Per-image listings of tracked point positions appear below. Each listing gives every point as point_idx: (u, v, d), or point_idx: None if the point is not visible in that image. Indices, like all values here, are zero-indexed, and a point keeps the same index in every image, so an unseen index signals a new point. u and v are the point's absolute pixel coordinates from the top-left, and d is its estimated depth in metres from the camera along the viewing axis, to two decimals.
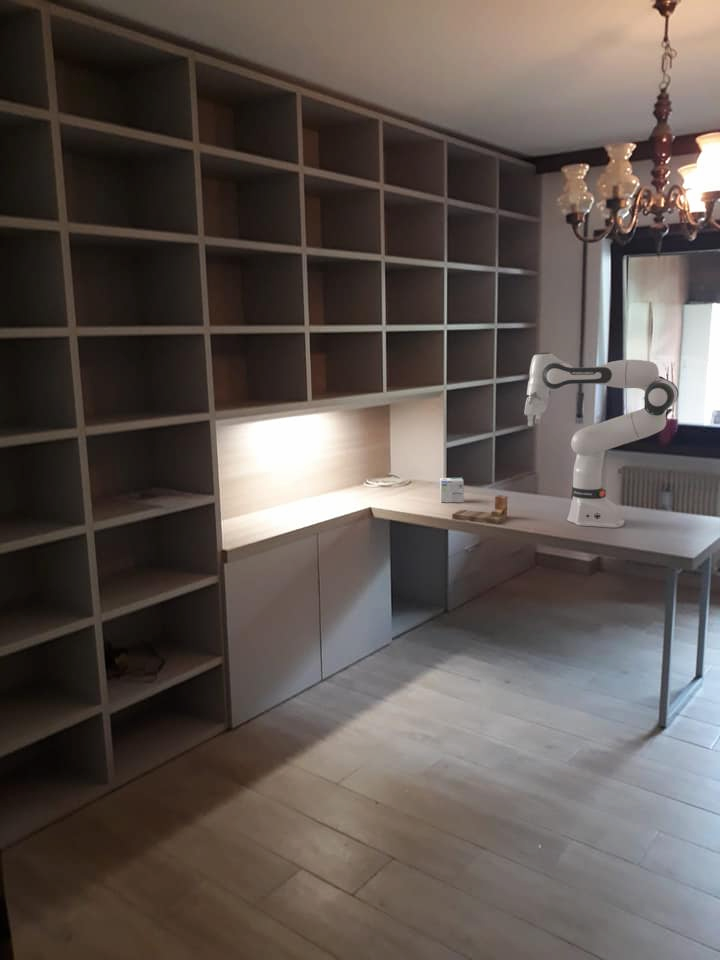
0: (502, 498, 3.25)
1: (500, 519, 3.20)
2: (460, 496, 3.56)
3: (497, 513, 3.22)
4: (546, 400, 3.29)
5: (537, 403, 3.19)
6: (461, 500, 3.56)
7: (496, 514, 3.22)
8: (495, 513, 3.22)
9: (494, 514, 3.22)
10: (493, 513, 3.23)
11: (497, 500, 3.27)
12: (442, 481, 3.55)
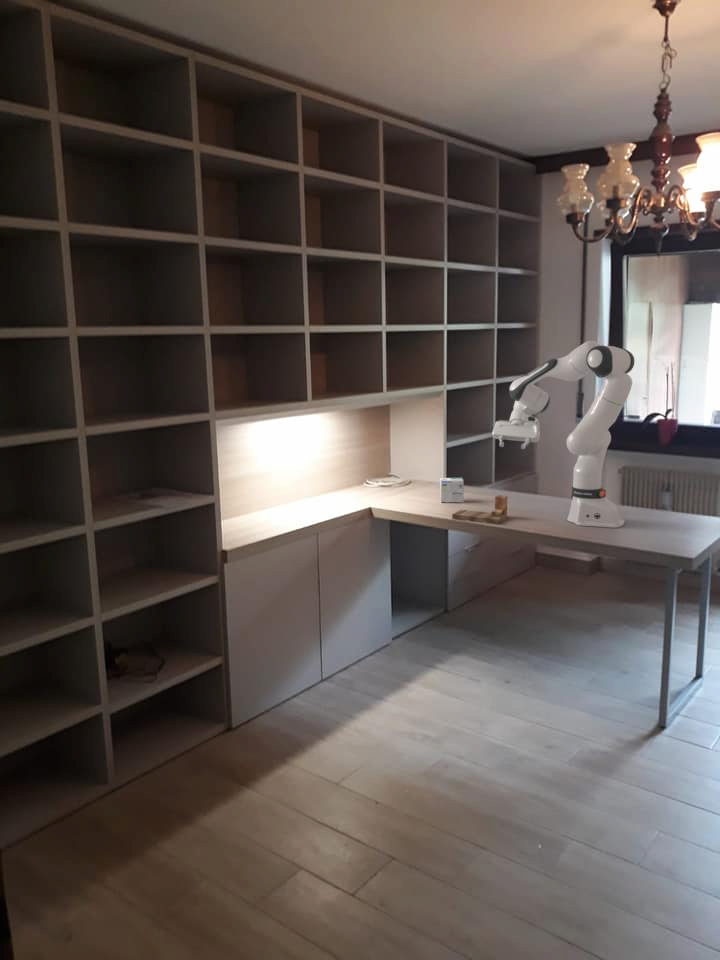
0: (502, 498, 3.25)
1: (500, 519, 3.20)
2: (460, 496, 3.56)
3: (497, 513, 3.22)
4: (534, 427, 3.34)
5: (508, 426, 3.39)
6: (461, 500, 3.56)
7: (496, 514, 3.22)
8: (495, 513, 3.22)
9: (494, 514, 3.22)
10: (493, 513, 3.23)
11: (497, 500, 3.27)
12: (442, 481, 3.55)
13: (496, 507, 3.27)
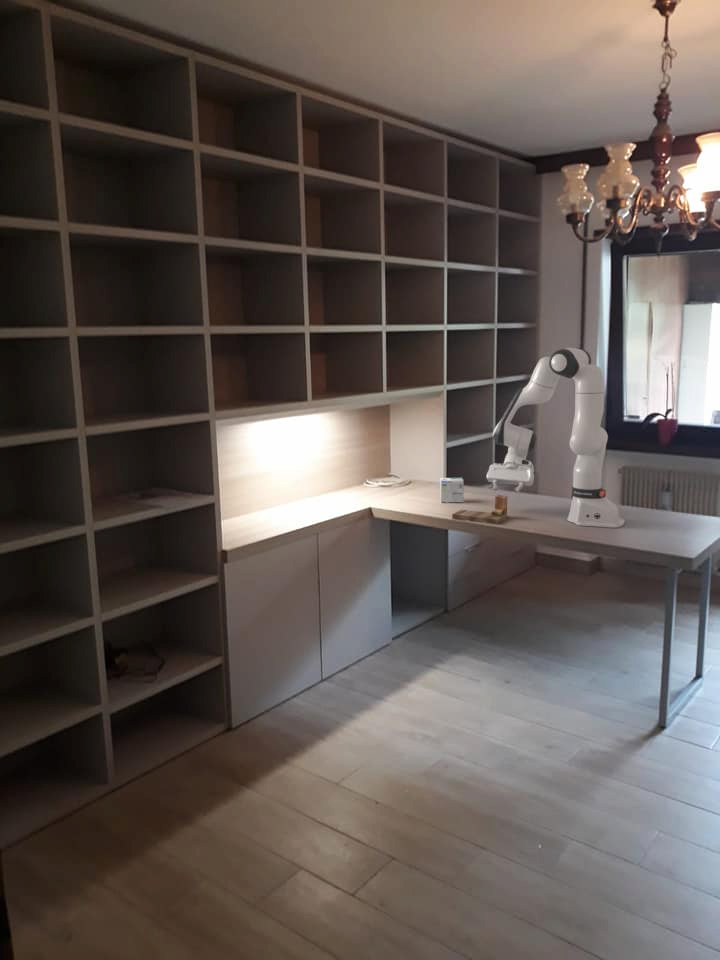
0: (502, 498, 3.25)
1: (500, 519, 3.20)
2: (460, 496, 3.56)
3: (497, 513, 3.22)
4: (527, 471, 3.32)
5: (502, 470, 3.38)
6: (461, 500, 3.56)
7: (496, 514, 3.22)
8: (495, 513, 3.22)
9: (494, 514, 3.22)
10: (493, 513, 3.23)
11: (497, 500, 3.27)
12: (442, 481, 3.55)
13: (496, 507, 3.27)
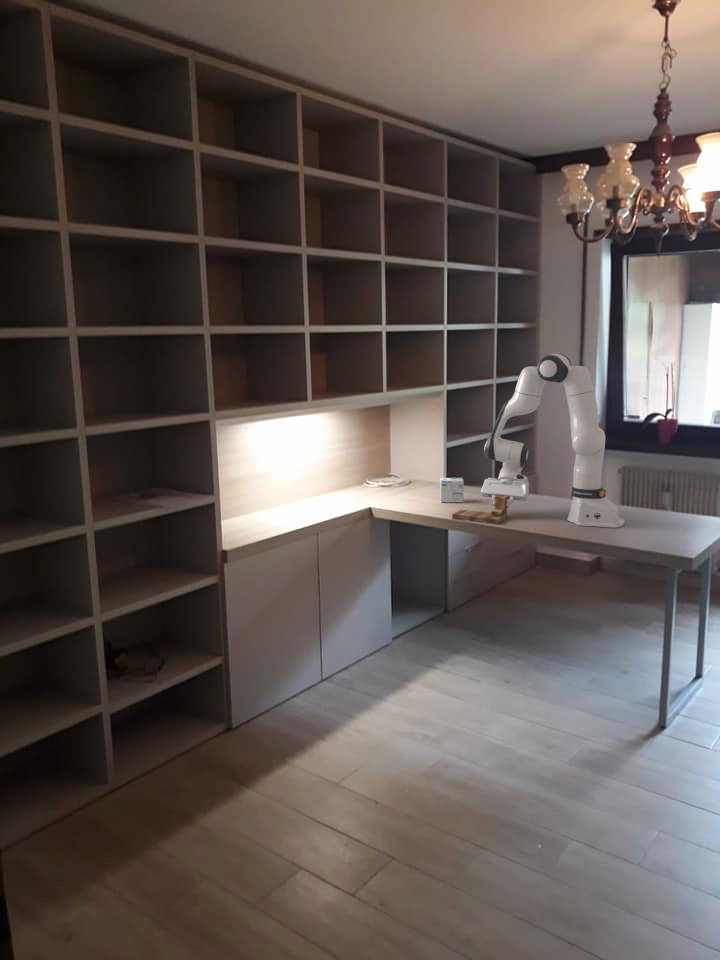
0: (502, 498, 3.25)
1: (500, 519, 3.20)
2: (460, 496, 3.56)
3: (497, 513, 3.22)
4: (522, 486, 3.27)
5: (496, 485, 3.33)
6: (461, 500, 3.56)
7: (496, 514, 3.22)
8: (495, 513, 3.22)
9: (494, 514, 3.22)
10: (493, 513, 3.23)
11: (497, 500, 3.27)
12: (442, 481, 3.55)
13: (496, 507, 3.27)
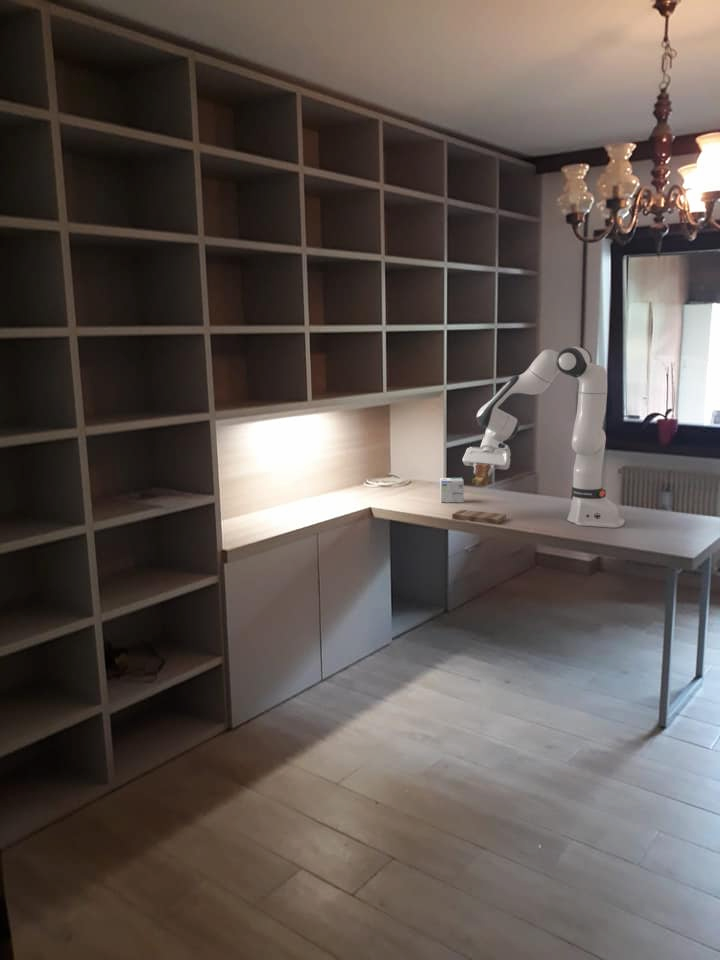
0: (483, 466, 3.27)
1: (500, 519, 3.20)
2: (460, 496, 3.56)
3: (478, 480, 3.23)
4: (504, 454, 3.29)
5: (478, 453, 3.35)
6: (461, 500, 3.56)
7: (477, 482, 3.24)
8: (476, 481, 3.24)
9: (475, 482, 3.24)
10: (474, 481, 3.24)
11: (478, 468, 3.28)
12: (442, 481, 3.55)
13: (477, 475, 3.29)
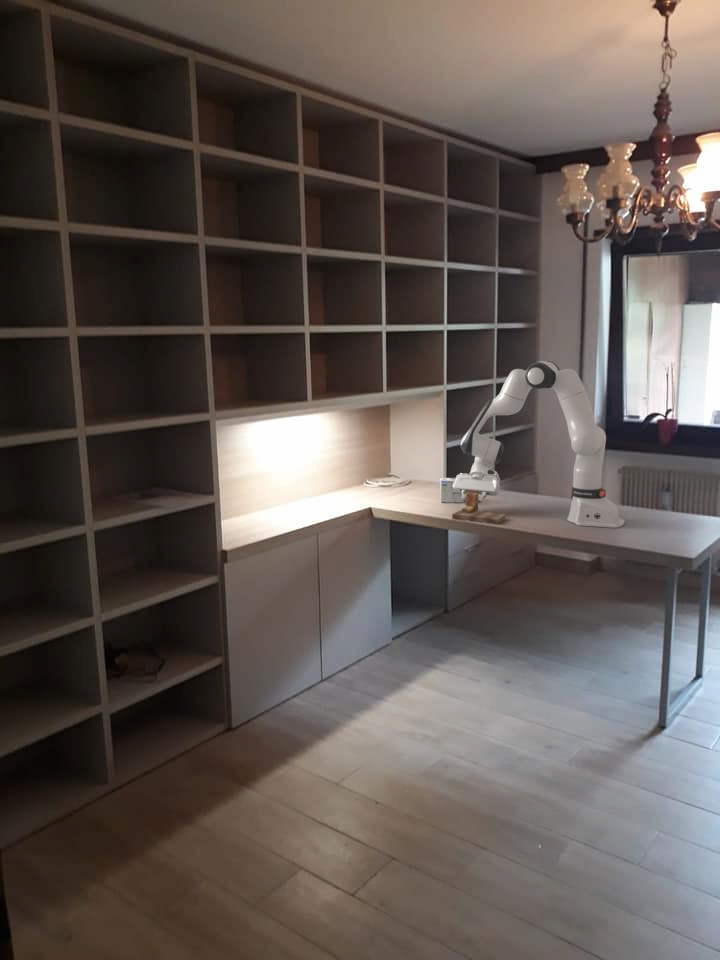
0: (473, 495, 3.31)
1: (500, 519, 3.20)
2: (460, 496, 3.56)
3: (468, 510, 3.28)
4: (493, 481, 3.33)
5: (468, 480, 3.39)
6: (461, 500, 3.56)
7: (467, 511, 3.28)
8: (466, 510, 3.28)
9: (465, 511, 3.29)
10: (464, 510, 3.29)
11: (468, 497, 3.33)
12: (442, 481, 3.55)
13: (467, 504, 3.33)
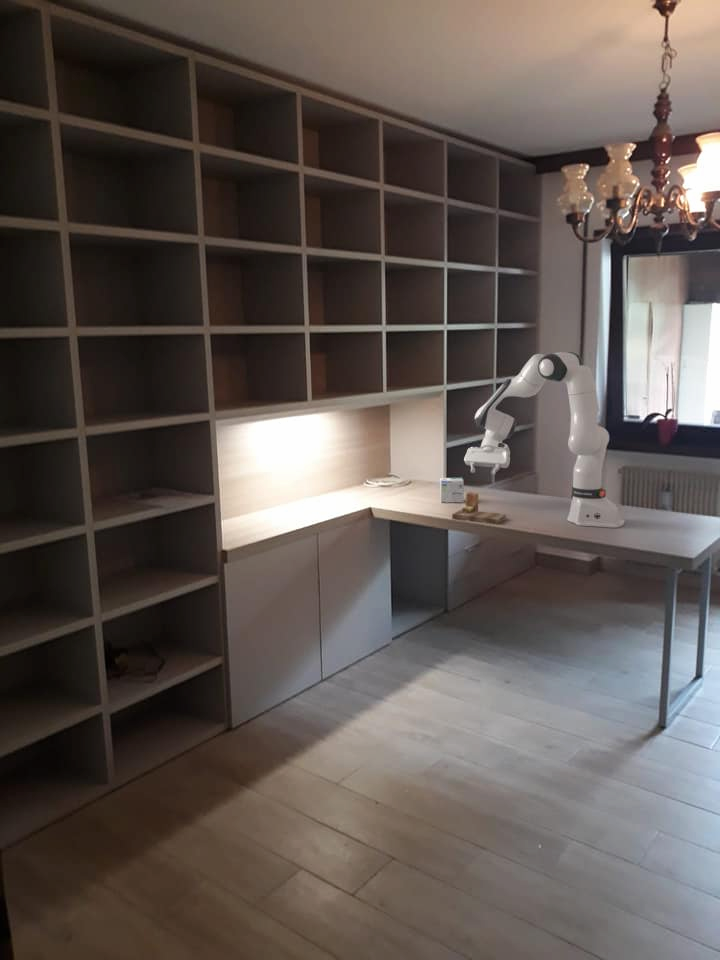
0: (473, 495, 3.32)
1: (500, 519, 3.20)
2: (460, 496, 3.56)
3: (468, 510, 3.28)
4: (503, 453, 3.42)
5: (479, 453, 3.48)
6: (461, 500, 3.56)
7: (467, 511, 3.28)
8: (466, 510, 3.28)
9: (465, 511, 3.29)
10: (464, 510, 3.29)
11: (468, 497, 3.33)
12: (442, 481, 3.55)
13: (467, 504, 3.33)
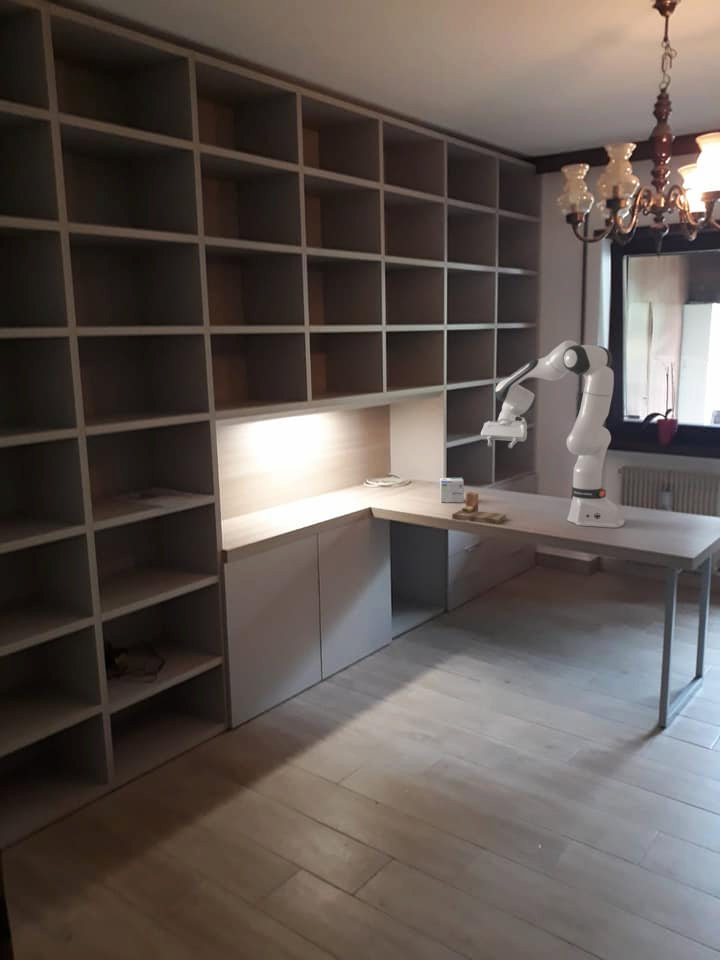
0: (473, 495, 3.32)
1: (500, 519, 3.20)
2: (460, 496, 3.56)
3: (468, 510, 3.28)
4: (521, 427, 3.41)
5: (496, 427, 3.47)
6: (461, 500, 3.56)
7: (467, 511, 3.28)
8: (466, 510, 3.28)
9: (465, 511, 3.29)
10: (464, 510, 3.29)
11: (468, 497, 3.33)
12: (442, 481, 3.55)
13: (467, 504, 3.33)
